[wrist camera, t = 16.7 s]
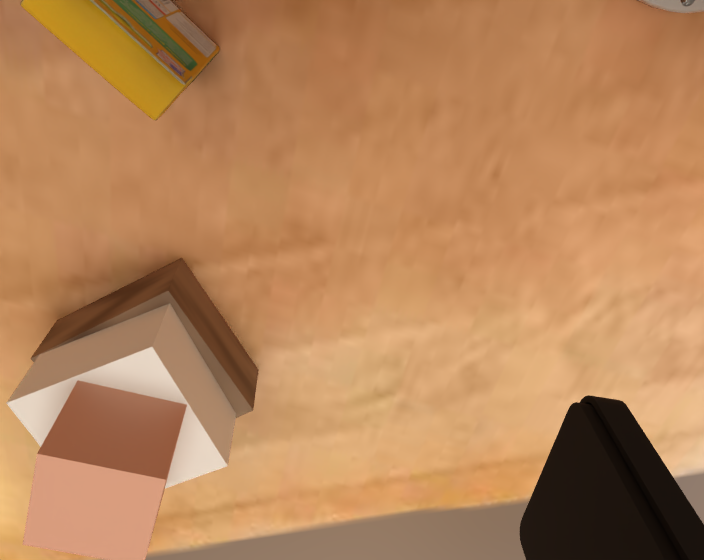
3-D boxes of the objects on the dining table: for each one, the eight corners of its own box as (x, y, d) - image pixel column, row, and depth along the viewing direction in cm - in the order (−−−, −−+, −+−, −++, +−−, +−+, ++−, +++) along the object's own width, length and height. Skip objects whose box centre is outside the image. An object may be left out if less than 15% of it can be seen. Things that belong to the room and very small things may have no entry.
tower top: (169, 303, 40) (152, 346, 36) (236, 414, 44) (227, 465, 40) (39, 354, 42) (6, 403, 37) (115, 458, 45) (93, 513, 41)
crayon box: (84, -9, 37) (-4, 6, 27) (117, -51, 36) (39, -54, 26) (188, 86, 40) (144, 133, 29) (221, 48, 39) (189, 83, 28)
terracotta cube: (187, 404, 38) (166, 479, 32) (166, 483, 40) (143, 566, 35) (77, 380, 37) (37, 453, 31) (62, 463, 39) (22, 544, 34)
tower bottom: (182, 256, 45) (168, 290, 40) (258, 368, 49) (253, 410, 44) (57, 319, 46) (30, 358, 42) (141, 422, 50) (125, 468, 46)
